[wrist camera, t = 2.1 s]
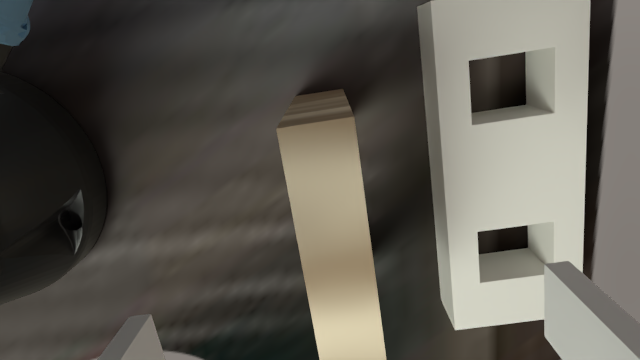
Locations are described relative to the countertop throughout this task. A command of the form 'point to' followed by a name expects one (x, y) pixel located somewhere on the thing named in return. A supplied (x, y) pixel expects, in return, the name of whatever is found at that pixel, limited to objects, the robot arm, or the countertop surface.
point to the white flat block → (505, 151)
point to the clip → (332, 225)
